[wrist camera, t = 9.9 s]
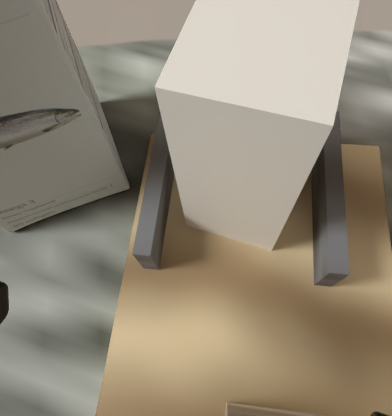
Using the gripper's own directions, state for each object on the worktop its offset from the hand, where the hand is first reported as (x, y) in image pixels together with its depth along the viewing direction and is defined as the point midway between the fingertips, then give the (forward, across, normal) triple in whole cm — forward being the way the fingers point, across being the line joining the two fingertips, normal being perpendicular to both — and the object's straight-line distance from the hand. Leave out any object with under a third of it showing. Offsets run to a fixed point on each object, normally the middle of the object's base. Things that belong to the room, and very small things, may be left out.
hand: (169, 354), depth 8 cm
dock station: (+9, -2, +4) cm, 10 cm away
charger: (+11, 0, 0) cm, 11 cm away
